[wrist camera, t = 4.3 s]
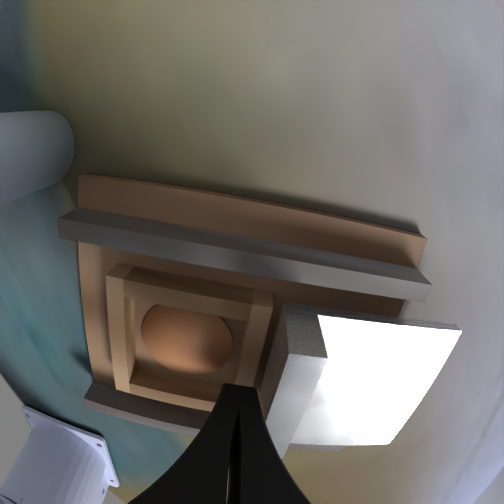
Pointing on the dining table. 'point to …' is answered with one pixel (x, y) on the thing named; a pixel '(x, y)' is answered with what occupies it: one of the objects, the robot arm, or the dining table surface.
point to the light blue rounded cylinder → (33, 152)
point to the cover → (348, 375)
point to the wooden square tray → (213, 289)
